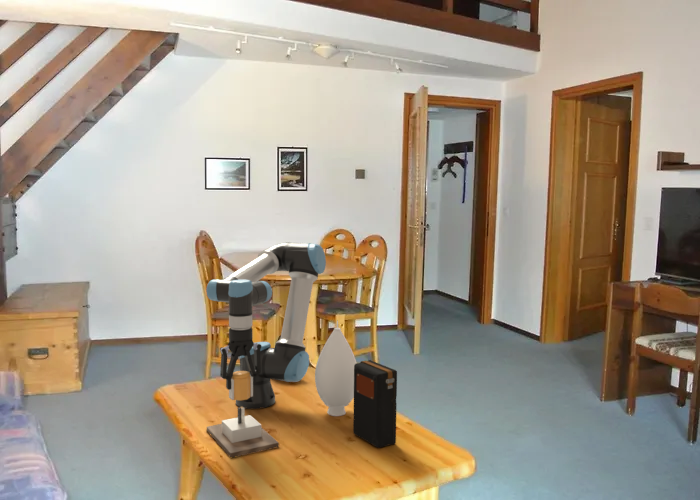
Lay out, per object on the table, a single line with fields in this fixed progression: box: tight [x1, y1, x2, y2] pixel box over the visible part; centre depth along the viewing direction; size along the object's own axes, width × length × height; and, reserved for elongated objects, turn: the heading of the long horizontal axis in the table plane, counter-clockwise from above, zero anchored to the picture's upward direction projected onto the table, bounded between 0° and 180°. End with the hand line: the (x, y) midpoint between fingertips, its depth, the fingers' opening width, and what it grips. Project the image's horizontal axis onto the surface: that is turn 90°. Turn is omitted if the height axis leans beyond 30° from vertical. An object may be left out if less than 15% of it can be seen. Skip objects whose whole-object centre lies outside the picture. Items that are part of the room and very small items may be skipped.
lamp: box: [314, 319, 358, 417], centre depth 219 cm, size 16×16×35 cm
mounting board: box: [206, 423, 280, 458], centre depth 196 cm, size 16×24×2 cm, turn 31°
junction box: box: [221, 407, 262, 443], centre depth 196 cm, size 10×10×9 cm
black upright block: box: [352, 359, 398, 449], centre depth 196 cm, size 16×9×25 cm, turn 35°
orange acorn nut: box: [232, 370, 250, 401], centre depth 195 cm, size 6×6×8 cm
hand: (241, 396), depth 195 cm, fingers closed on orange acorn nut, 6 cm apart
